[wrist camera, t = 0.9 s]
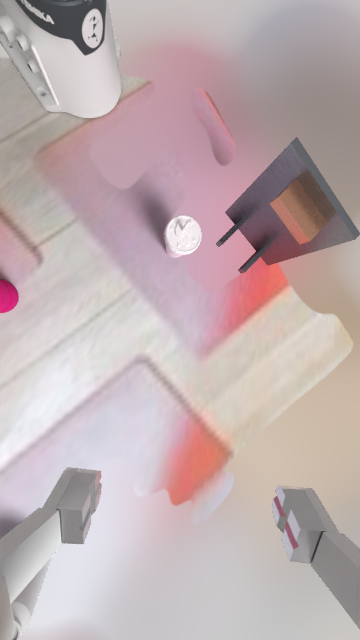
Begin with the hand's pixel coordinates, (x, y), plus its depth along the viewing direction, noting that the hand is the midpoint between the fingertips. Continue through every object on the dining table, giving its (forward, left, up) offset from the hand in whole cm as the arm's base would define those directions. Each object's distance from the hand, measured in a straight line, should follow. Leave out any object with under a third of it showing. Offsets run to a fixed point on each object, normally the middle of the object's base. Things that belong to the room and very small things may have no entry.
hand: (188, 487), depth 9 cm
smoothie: (-10, +18, -36) cm, 42 cm away
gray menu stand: (0, +29, -36) cm, 46 cm away
